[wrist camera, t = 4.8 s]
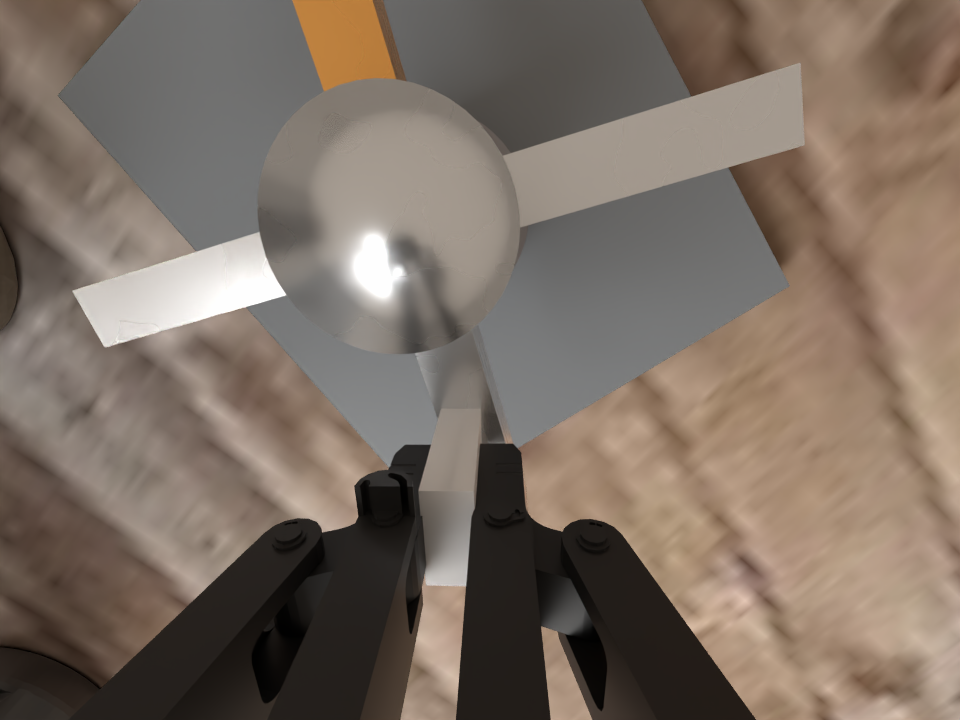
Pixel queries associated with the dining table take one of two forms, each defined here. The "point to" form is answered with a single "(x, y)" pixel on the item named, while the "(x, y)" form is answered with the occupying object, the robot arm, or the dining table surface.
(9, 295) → the beer stein
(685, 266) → the stand
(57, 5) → the dining table surface
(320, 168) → the capstan
